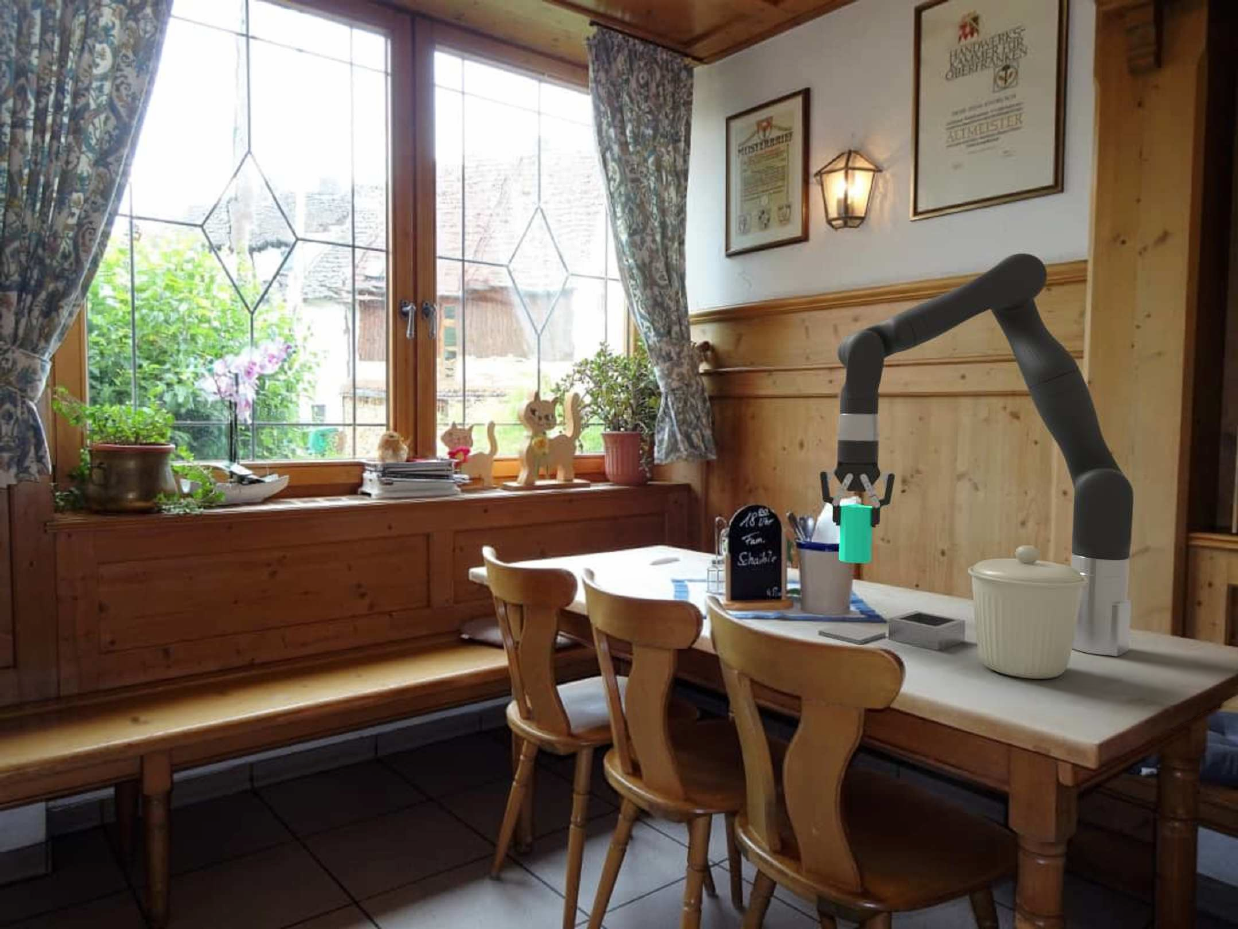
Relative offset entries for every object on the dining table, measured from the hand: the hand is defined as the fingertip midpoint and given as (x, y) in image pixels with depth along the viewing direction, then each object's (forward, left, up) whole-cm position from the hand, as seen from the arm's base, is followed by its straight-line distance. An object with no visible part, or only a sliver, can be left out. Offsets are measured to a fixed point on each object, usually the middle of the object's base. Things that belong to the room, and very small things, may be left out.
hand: (855, 525), depth 165 cm
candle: (0, 0, -7) cm, 7 cm away
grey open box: (-11, -8, -21) cm, 25 cm away
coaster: (0, 0, -21) cm, 21 cm away
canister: (-31, -3, -21) cm, 38 cm away
